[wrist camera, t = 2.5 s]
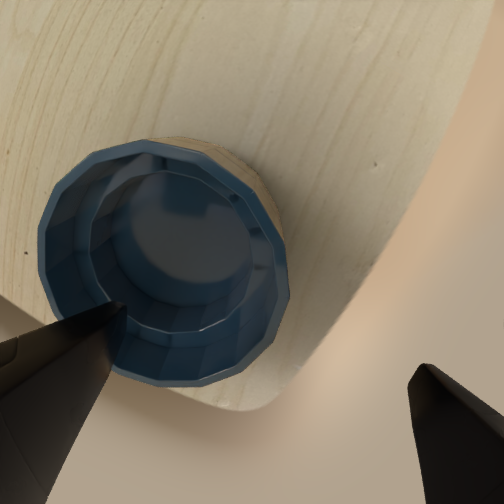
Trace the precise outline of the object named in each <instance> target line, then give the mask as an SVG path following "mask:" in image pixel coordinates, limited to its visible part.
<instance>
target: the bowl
mask: <svg viewBox="0 0 504 504" xmlns="http://www.w3.org/2000/svg"><path fill="white" fill-rule="evenodd" d="M37 252H38V274H39V277H40V279H41V282H42V285H43V288H44V291H45V293H46V296H47V299H48V301H49V304H50V306H51V309H52V311H53V313H54V315H55V317H56V318H57V319H58V321H60V320H62V319H65V318H68V317H70V316H73V315H75V314H78V313H81V312H83V311H86V310H89V309H91V308H94V307H97V306H99V305H102V304H105V303H107V302H110V301H113V300H114V301H118V302H121V303H125V304H126V305H127V329H126V334H125V337H124V339H123V342H122V344H121V347H120V349H119V351H118V354H117V356H116V359H115V361H114V364H113V366H112V369H111V370H112V371H113V372H115V373H117V374H119V375H122V376H125V377H128V378H131V379H134V380H137V381H140V382H143V383H146V384H150V385H153V386H156V387H203V386H206V385H209V384H212V383H214V382H217V381H220V380H223V379H225V378H228V377H231V376H233V375H236V374H238V373H241V372H242V371H243V370H244V369H246V368H247V367H248V366H249V365H250V364H251V363H252V362H253V361H254V360H255V359H256V358H257V357H258V356H259V355H260V354H261V353H262V352H263V351H264V350H265V349H267V348H268V347H269V346H270V345H271V344H272V343H273V341H274V339H275V336H276V334H277V331H278V328H279V326H280V323H281V321H282V318H283V315H284V312H285V310H286V307H287V304H288V302H289V299H290V290H289V279H288V269H287V258H286V248H285V241H284V236H283V231H282V226H281V221H280V216H279V211H278V208H277V206H276V204H275V203H274V201H273V199H272V197H271V196H270V194H269V192H268V190H267V189H266V187H265V185H264V183H263V182H262V180H261V178H260V176H259V175H258V173H256V171H255V170H253V169H252V168H251V167H249V166H248V165H247V164H245V163H244V162H243V161H241V160H240V159H239V158H237V157H236V156H235V155H233V154H232V153H231V152H229V151H228V150H227V149H225V148H224V147H221V146H220V145H216V144H211V143H207V142H203V141H198V140H194V139H189V138H185V137H167V138H154V139H142V140H138V141H134V142H129V143H125V144H121V145H117V146H114V147H110V148H106V149H102V150H99V151H95V152H92V153H90V154H89V155H88V156H87V157H86V158H84V159H83V160H82V161H81V162H80V163H79V164H77V165H76V166H75V167H74V168H73V169H72V170H71V171H70V172H69V173H67V174H66V175H65V176H64V177H63V178H62V179H61V180H60V181H59V182H58V183H57V184H56V185H55V186H54V189H53V191H52V193H51V195H50V198H49V200H48V203H47V205H46V207H45V210H44V212H43V215H42V217H41V220H40V223H39V225H38V236H37Z"/></svg>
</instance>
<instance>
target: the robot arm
mask: <svg viewBox="0 0 504 504" xmlns="http://www.w3.org/2000/svg"><path fill="white" fill-rule="evenodd" d="M126 329H127V305H126V304H125V303H121V302H118V301H114V300H113V301H110V302H107V303H105V304H102V305H99V306H97V307H94V308H91V309H89V310H86V311H83V312H81V313H78V314H75V315H73V316H70V317H68V318H65V319H62V320H60V321H57V322H54V323H52V324H49V325H46V326H44V327H41V328H38V329H36V330H33V331H31V332H28V333H25V334H23V335H20V336H19V337H18V338H17V337H15V338H12V339H9V340H7V341H4V342H1V343H0V504H45V503H46V501H47V498H48V497H47V496H49V494H50V492H51V490H52V487H53V485H54V483H55V481H56V479H57V477H58V474H59V472H60V470H61V468H62V466H63V464H64V462H65V460H66V458H67V456H68V454H69V452H70V450H71V448H72V446H73V444H74V442H75V439H76V438H77V436H78V433H79V432H80V430H81V428H82V426H83V424H84V422H85V420H86V418H87V416H88V414H89V412H90V410H91V409H92V407H93V405H94V403H95V401H96V399H97V397H98V395H99V394H100V392H101V390H102V388H103V386H104V384H105V382H106V380H107V378H108V376H109V374H110V371H111V369H112V366H113V364H114V361H115V359H116V356H117V354H118V351H119V349H120V347H121V344H122V342H123V339H124V337H125V334H126ZM408 396H409V403H410V412H411V420H412V428H413V433H414V438H415V443H416V448H417V453H418V458H419V463H420V469H421V475H422V481H423V487H424V494H425V500H426V504H504V416H502V415H501V414H500V413H498V412H497V411H496V410H494V409H492V408H491V407H490V406H489V405H487V404H486V403H485V402H483V401H482V400H480V399H479V398H478V397H477V396H475V395H474V394H472V393H471V392H470V391H468V390H467V389H466V388H464V387H463V386H462V385H460V384H459V383H457V382H456V381H455V380H453V379H452V378H451V377H449V376H448V375H447V374H445V373H444V372H442V371H441V370H440V369H438V368H437V367H436V366H434V365H432V364H425V363H423V364H421V365H420V366H419V367H418V368H417V370H416V371H415V373H414V375H413V376H412V378H411V379H410V381H409V383H408Z"/></svg>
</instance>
